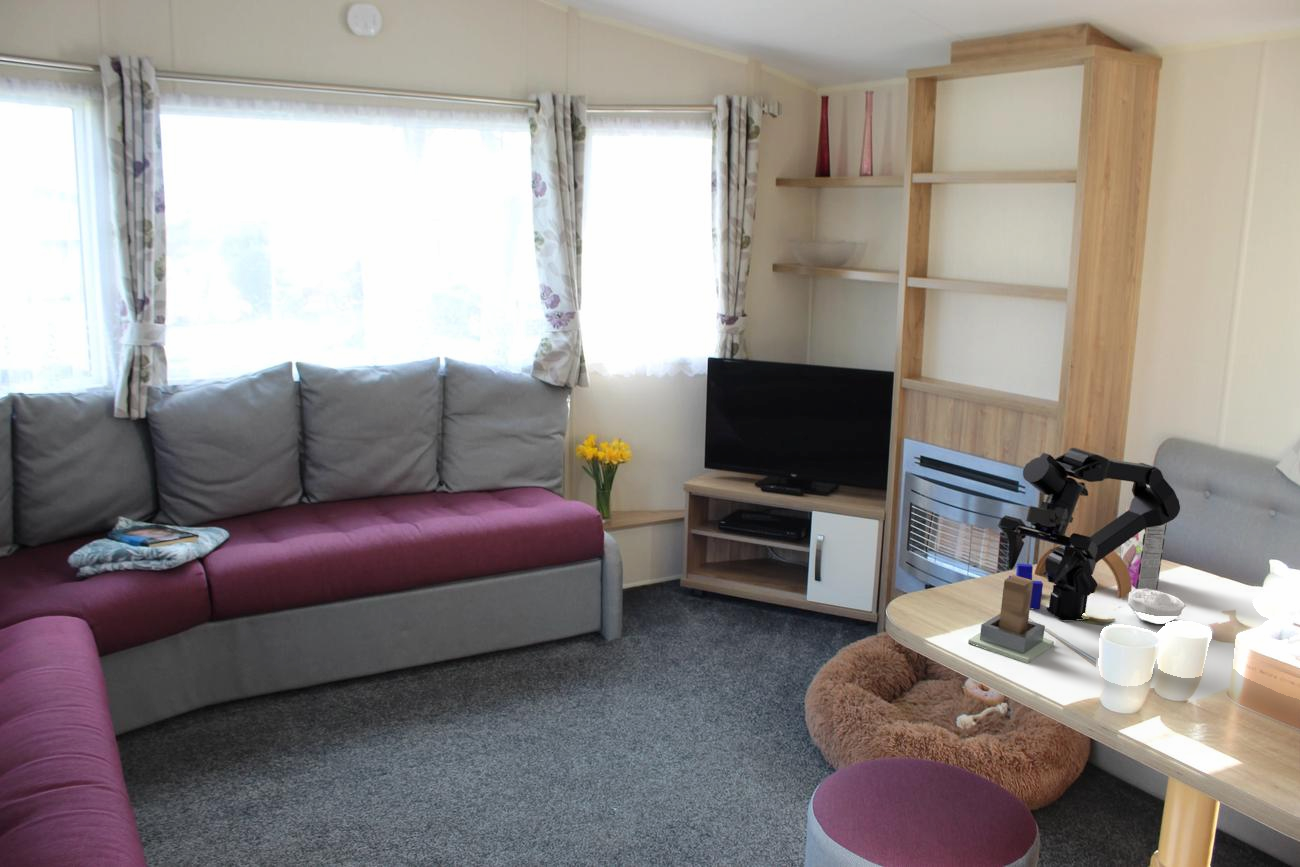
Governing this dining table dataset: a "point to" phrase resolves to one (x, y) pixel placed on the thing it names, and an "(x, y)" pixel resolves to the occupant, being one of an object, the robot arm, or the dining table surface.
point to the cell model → (1155, 603)
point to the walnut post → (1016, 604)
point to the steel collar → (1012, 636)
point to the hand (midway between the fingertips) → (1031, 575)
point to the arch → (1114, 564)
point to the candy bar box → (1144, 556)
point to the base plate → (1012, 654)
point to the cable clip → (1026, 572)
